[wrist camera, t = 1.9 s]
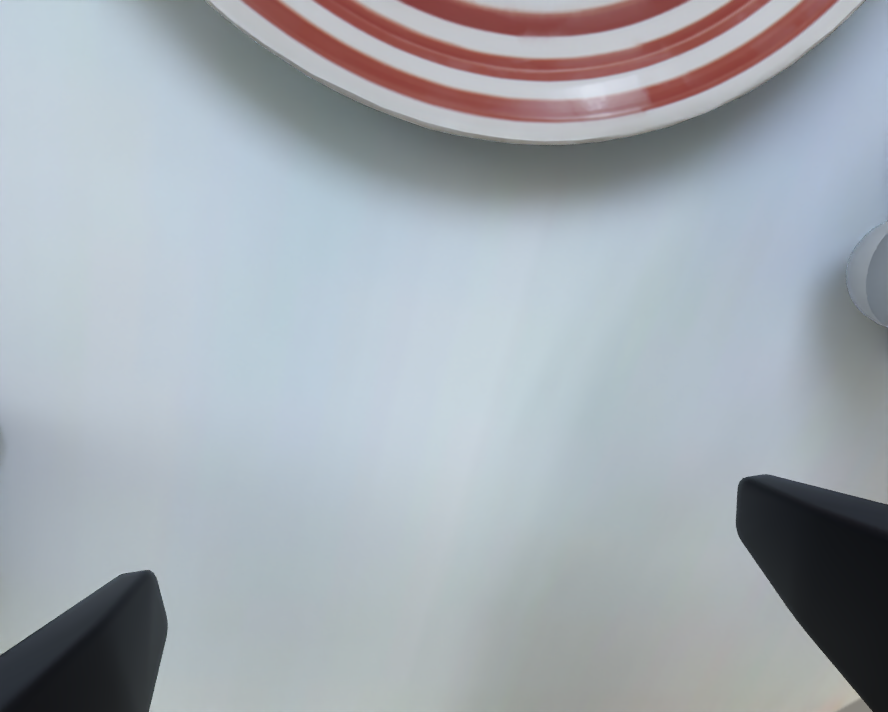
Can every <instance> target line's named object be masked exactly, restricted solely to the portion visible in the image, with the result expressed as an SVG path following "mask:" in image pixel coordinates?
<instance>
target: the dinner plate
mask: <svg viewBox="0 0 888 712" xmlns="http://www.w3.org/2000/svg"><path fill="white" fill-rule="evenodd" d="M204 1H206V2H207V3H208V4H209V5H210V6H211V7H212V8H213V9H215V10H216V11H217V12H218V13H219V14H221V15H222V16H223V17H224V18H226V19H227V20H228V21H229V22H230V23H232V24H233V25H234V26H236V27H237V28H238V29H239V30H241V31H242V32H243V33H245V34H246V35H247V36H249V37H250V38H251V39H253V40H254V41H256V42H257V43H258V44H260V45H261V46H263V47H264V48H266V49H267V50H269V51H270V52H272V53H273V54H275V55H276V56H277V57H279V58H280V59H282V60H283V61H285V62H286V63H288V64H289V65H291V66H293V67H294V68H296V69H297V70H299V71H300V72H302V73H303V74H305V75H306V76H308V77H310V78H312V79H314V80H315V81H317V82H319V83H321V84H323V85H325V86H326V87H328V88H330V89H332V90H334V91H336V92H337V93H339V94H342V95H344V96H346V97H348V98H350V99H352V100H354V101H357V102H359V103H361V104H363V105H365V106H368V107H370V108H373V109H375V110H378V111H380V112H383V113H385V114H388V115H390V116H393V117H396V118H399V119H401V120H404V121H407V122H410V123H413V124H416V125H418V126H421V127H424V128H427V129H431V130H435V131H440V132H444V133H448V134H452V135H457V136H462V137H467V138H474V139H481V140H488V141H495V142H502V143H509V144H528V145H569V144H583V143H594V142H603V141H608V140H613V139H619V138H626V137H632V136H636V135H639V134H643V133H647V132H651V131H655V130H659V129H663V128H667V127H670V126H673V125H675V124H678V123H681V122H683V121H686V120H689V119H691V118H694V117H697V116H699V115H702V114H704V113H707V112H709V111H711V110H714V109H716V108H718V107H720V106H722V105H725V104H727V103H729V102H731V101H733V100H735V99H737V98H739V97H741V96H743V95H745V94H747V93H748V92H750V91H752V90H754V89H755V88H757V87H759V86H761V85H762V84H764V83H766V82H767V81H769V80H770V79H772V78H773V77H775V76H776V75H778V74H779V73H781V72H782V71H784V70H785V69H787V68H788V67H789V66H791V65H792V64H794V63H795V62H797V61H798V60H799V59H800V58H802V57H803V56H804V55H805V54H807V53H808V52H809V51H810V50H812V49H813V48H814V47H815V46H817V45H818V44H819V43H820V42H822V41H823V40H824V39H826V38H827V37H828V36H829V35H830V34H831V33H832V32H834V31H835V30H836V29H837V28H838V27H839V26H840V25H841V24H842V23H843V22H845V21H846V20H847V19H848V18H849V17H850V16H851V15H852V14H853V13H854V12H855V11H856V10H857V9H858V8H859V7H860V6H861V5H862V4H863V3H864V2H865V1H866V0H204Z"/></svg>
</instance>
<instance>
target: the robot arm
mask: <svg viewBox="0 0 888 712" xmlns="http://www.w3.org/2000/svg"><path fill="white" fill-rule="evenodd" d="M736 528H737V532H738V535H739V537H740V539H741V541H742V542H743V544H744V545H745V547H746V548H747V550H748V551H749V553H750V554H751V555H752V557H753V558H754V560H755V561H756V563H757V564H758V566H759V567H760V568H761V570H762V571H763V573H764V574H765V576H766V577H767V579H768V580H769V581H770V583H771V584H772V586H773V587H774V589H775V590H776V592H777V593H778V594H779V596H780V597H781V599H782V600H783V602H784V603H785V605H786V606H787V607H788V609H789V610H790V612H791V613H792V614H793V616H794V617H795V618H796V620H797V621H798V622H799V624H800V625H801V626H802V627H803V629H804V630H805V631H806V632H807V634H808V635H809V636H810V637H811V638H812V640H813V641H814V642H815V643H816V644H817V646H818V647H819V648H820V649H821V650H822V652H823V653H824V654H825V655H826V656H827V658H828V659H829V660H830V661H831V662H832V664H833V665H834V666H835V667H836V668H837V669H838V671H839V672H840V673H841V674H842V675H843V677H844V678H845V679H846V680H847V681H848V683H849V684H850V685H851V686H852V687H853V689H854V690H855V691H856V692H857V693H858V694H859V696H860V697H861V698H862V699H863V700H864V702H865V703H866V704H867V705H868V706H869V708H870V709H871V710H872V711H873V712H888V505H887V504H883V503H879V502H875V501H871V500H867V499H863V498H859V497H855V496H851V495H847V494H843V493H840V492H836V491H832V490H828V489H824V488H820V487H816V486H812V485H808V484H804V483H800V482H796V481H792V480H788V479H784V478H780V477H776V476H772V475H767V474H765V475H757V476H751V477H745V478H743V479H742V480H741V481H740V482H739V485H738V492H737V511H736ZM167 629H168V623H167V616H166V612H165V608H164V605H163V601H162V597H161V593H160V589H159V585H158V581H157V578H156V576H155V575H154V573H153V572H151V571H150V570H144V571H138V572H131V573H125V574H121V575H119V576H118V577H116V578H115V579H113V580H112V581H110V582H109V583H107V584H106V585H104V586H103V587H101V588H100V589H98V590H97V591H95V592H94V593H92V594H91V595H89V596H88V597H86V598H85V599H83V600H82V601H80V602H79V603H77V604H76V605H74V606H73V607H71V608H70V609H69V610H67V611H66V612H64V613H63V614H61V615H60V616H58V617H57V618H55V619H54V620H52V621H51V622H49V623H48V624H46V625H45V626H43V627H42V628H40V629H39V630H37V631H36V632H34V633H33V634H31V635H30V636H28V637H27V638H25V639H24V640H22V641H21V642H19V643H18V644H16V645H15V646H14V647H12V648H11V649H9V650H8V651H6V652H5V653H3V654H2V655H0V712H149V708H150V704H151V700H152V696H153V691H154V687H155V683H156V679H157V675H158V670H159V666H160V662H161V658H162V654H163V649H164V645H165V641H166V637H167Z"/></svg>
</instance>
